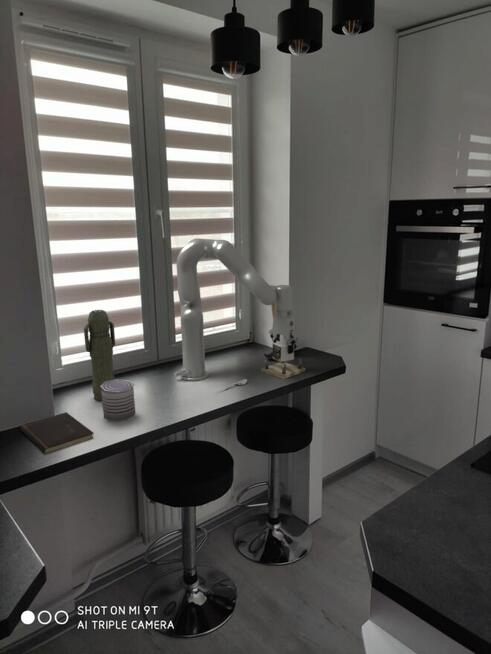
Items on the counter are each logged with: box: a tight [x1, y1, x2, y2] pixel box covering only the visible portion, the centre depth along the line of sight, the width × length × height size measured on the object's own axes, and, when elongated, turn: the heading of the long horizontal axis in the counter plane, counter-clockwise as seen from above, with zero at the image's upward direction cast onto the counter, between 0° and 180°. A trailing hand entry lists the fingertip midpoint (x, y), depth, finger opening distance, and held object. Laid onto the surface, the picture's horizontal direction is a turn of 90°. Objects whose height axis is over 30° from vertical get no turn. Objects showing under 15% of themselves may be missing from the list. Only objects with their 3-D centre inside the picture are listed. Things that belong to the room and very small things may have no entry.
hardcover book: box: [20, 411, 95, 455], centre depth 164 cm, size 16×23×2 cm
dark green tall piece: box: [83, 309, 116, 402], centre depth 191 cm, size 9×12×35 cm
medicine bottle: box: [272, 334, 295, 363], centre depth 219 cm, size 7×7×12 cm
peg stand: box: [260, 358, 306, 380], centre depth 221 cm, size 14×14×6 cm
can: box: [100, 378, 136, 423], centre depth 176 cm, size 11×11×12 cm
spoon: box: [214, 378, 248, 394], centre depth 203 cm, size 4×21×2 cm, turn 136°
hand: (283, 351), depth 220 cm, fingers closed on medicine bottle, 8 cm apart
